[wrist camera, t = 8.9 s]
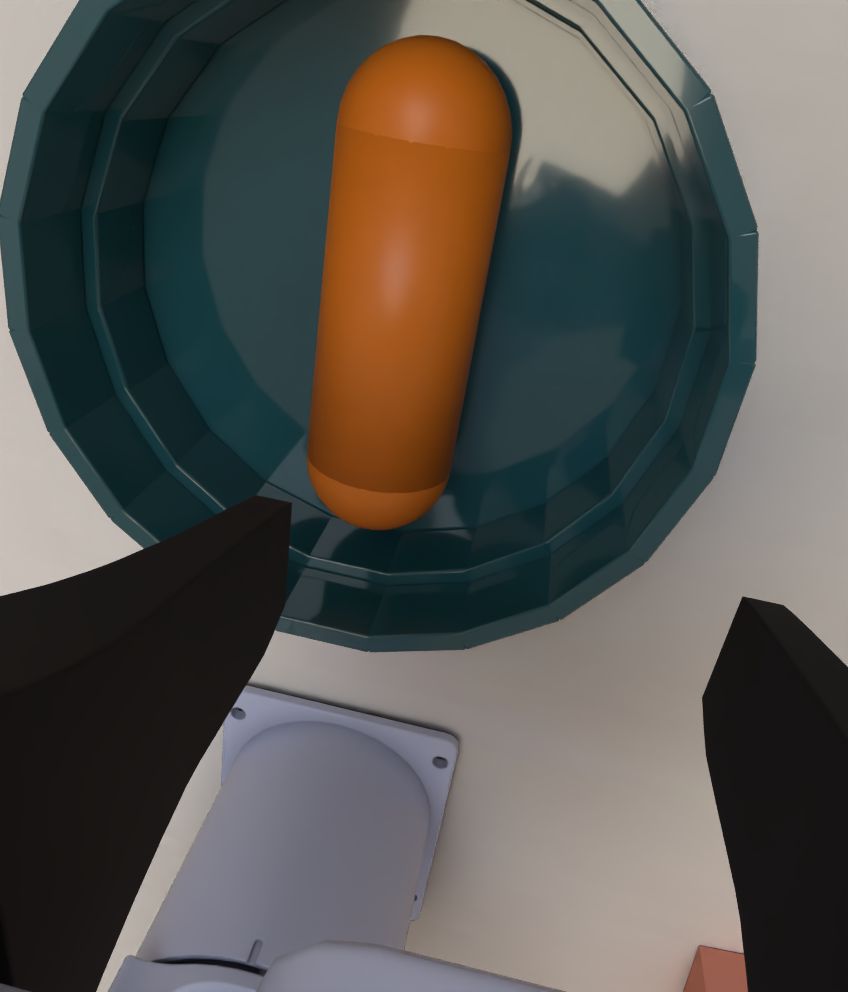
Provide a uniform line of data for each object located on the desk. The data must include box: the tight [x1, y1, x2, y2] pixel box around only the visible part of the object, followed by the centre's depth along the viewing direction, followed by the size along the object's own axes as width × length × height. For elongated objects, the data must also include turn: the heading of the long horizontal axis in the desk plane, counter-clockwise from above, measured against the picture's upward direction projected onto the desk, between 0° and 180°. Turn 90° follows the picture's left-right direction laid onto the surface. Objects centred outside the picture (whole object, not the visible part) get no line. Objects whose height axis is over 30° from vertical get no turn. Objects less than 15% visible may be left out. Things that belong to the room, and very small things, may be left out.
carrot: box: [307, 35, 512, 530], centre depth 18 cm, size 11×4×4 cm, turn 171°
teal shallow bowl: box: [0, 0, 759, 652], centre depth 18 cm, size 15×15×5 cm
